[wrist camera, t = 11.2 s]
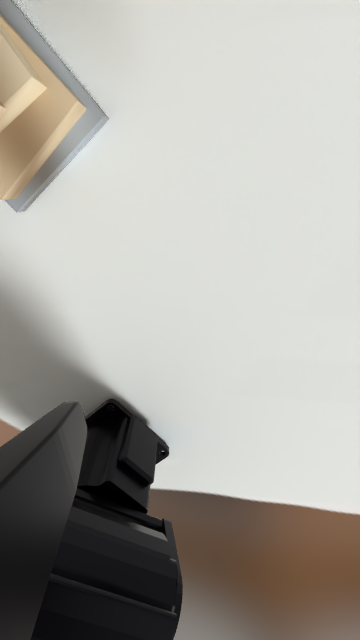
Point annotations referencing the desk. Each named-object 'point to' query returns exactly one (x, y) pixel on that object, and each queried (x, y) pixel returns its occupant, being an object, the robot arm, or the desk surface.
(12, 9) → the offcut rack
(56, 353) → the desk surface
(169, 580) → the robot arm
